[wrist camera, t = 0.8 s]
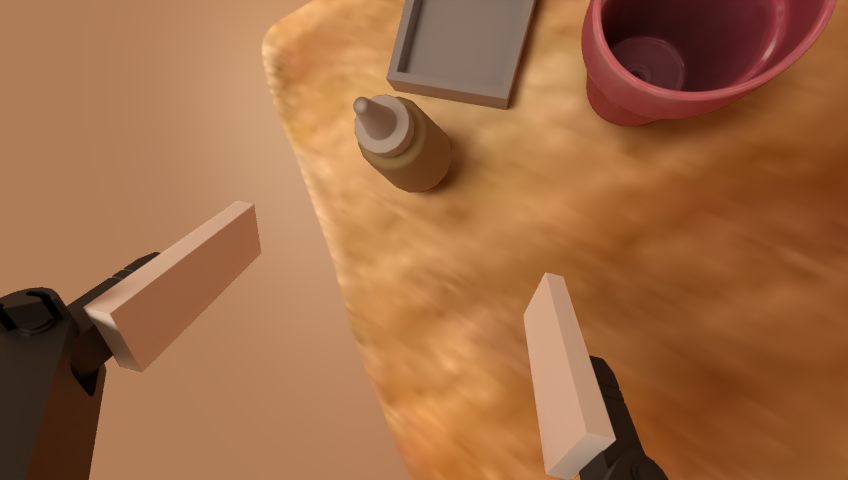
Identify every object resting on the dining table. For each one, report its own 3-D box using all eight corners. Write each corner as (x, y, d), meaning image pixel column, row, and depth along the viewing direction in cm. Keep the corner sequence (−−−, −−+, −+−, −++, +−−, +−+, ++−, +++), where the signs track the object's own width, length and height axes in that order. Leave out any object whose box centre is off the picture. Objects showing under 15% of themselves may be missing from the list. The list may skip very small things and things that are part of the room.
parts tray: (540, -15, 36) (544, -37, 33) (506, 110, 37) (507, 99, 34) (423, -25, 39) (416, -46, 36) (394, 90, 40) (386, 79, 37)
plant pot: (651, -15, 33) (742, -165, 21) (745, 86, 31) (906, -11, 19) (534, 79, 36) (551, -4, 24) (614, 177, 34) (679, 144, 22)
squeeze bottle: (469, 151, 38) (443, 79, 20) (432, 209, 39) (376, 187, 21) (415, 118, 39) (346, 24, 22) (380, 174, 40) (289, 128, 23)
